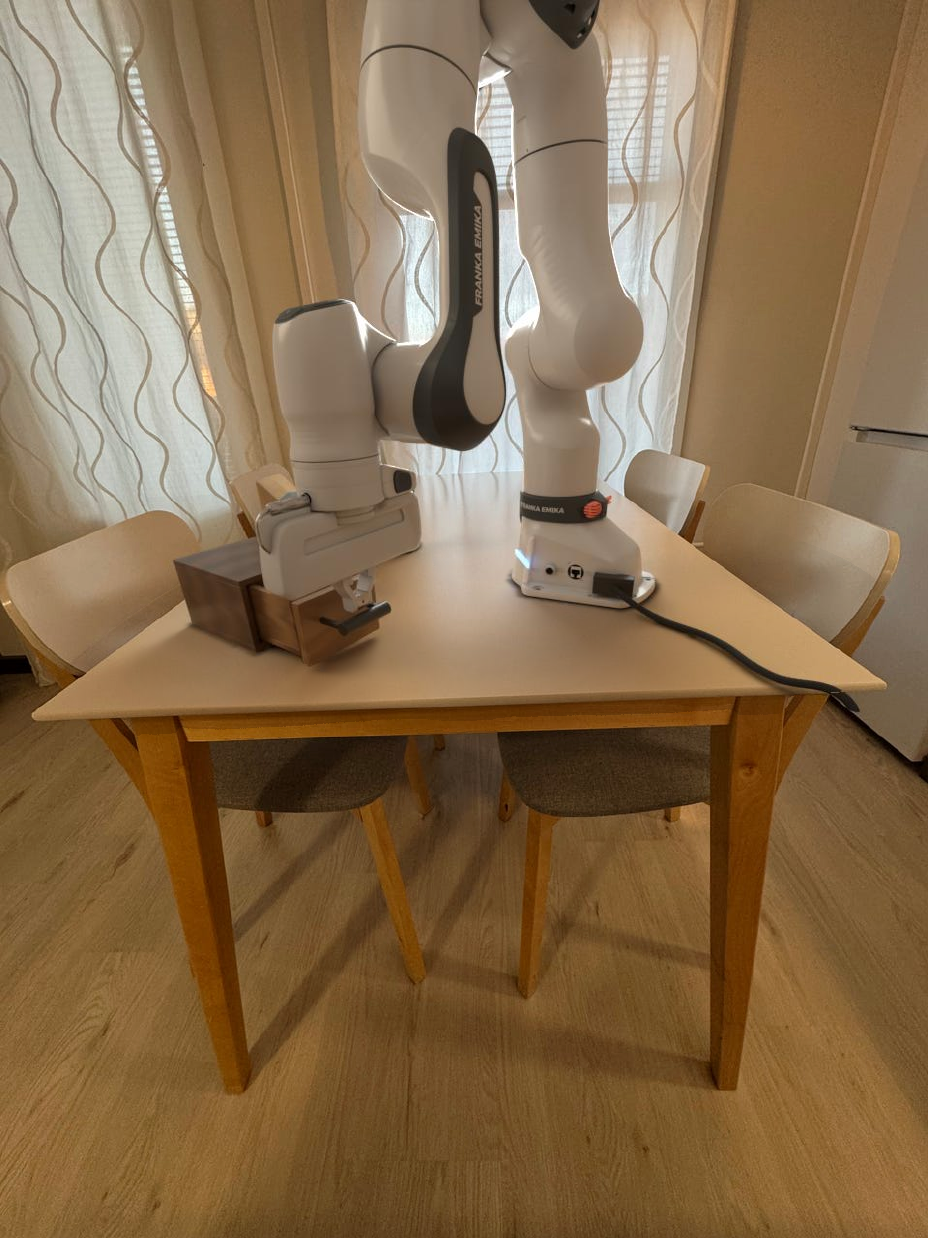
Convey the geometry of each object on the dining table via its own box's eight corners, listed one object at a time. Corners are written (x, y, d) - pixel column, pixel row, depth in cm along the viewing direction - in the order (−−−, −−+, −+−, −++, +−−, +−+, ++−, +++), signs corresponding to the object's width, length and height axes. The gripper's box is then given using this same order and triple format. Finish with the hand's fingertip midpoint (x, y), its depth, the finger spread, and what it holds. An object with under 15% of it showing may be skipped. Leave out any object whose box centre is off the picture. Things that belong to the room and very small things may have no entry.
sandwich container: (346, 563, 93) (333, 480, 86) (271, 560, 96) (254, 480, 89) (363, 548, 100) (353, 471, 94) (294, 546, 103) (279, 472, 97)
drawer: (407, 637, 63) (401, 579, 60) (338, 678, 55) (326, 614, 51) (308, 605, 73) (299, 554, 70) (238, 635, 65) (223, 579, 62)
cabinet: (333, 616, 72) (323, 552, 68) (256, 653, 63) (238, 581, 59) (268, 594, 80) (255, 536, 76) (192, 624, 71) (172, 559, 67)
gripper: (273, 510, 42) (303, 653, 48) (426, 470, 57) (434, 583, 63) (230, 503, 46) (263, 637, 52) (385, 467, 60) (397, 574, 66)
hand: (358, 607), depth 57 cm, fingers closed
